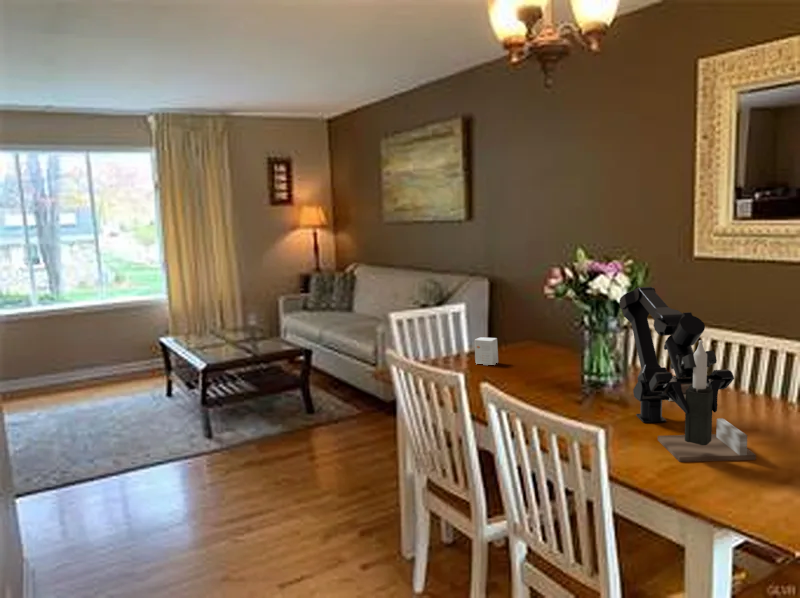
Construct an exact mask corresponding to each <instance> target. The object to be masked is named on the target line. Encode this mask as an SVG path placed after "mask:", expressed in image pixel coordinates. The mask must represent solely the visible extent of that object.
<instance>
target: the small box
mask: <svg viewBox="0 0 800 598" xmlns="http://www.w3.org/2000/svg"><path fill="white" fill-rule="evenodd" d="M474 360H475V363H476V364H475V365H477V364H483V365H482V366H488V365H494V366H495V365H497V364H498V363H499V351H498V338H497V337H483V336H482V337H481V336H480V337H478V338H475V339H474ZM496 363H497V364H496Z"/></svg>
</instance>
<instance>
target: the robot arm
mask: <svg viewBox="0 0 800 598" xmlns="http://www.w3.org/2000/svg"><path fill="white" fill-rule="evenodd" d="M618 302H619V304H618V305H619V308H620V309H621V311H622V315H623V317H624V318H625V319H626V320H627V321H628V322H629V323H630V325H631V328H632V333H633V336H634V342H635V347H636V350H637V351H636V352H637V356H638V360H639V364H640V371H639V373H638V375H637V382H636V384H635V386H634V387H633V390H632V392H633V397H634V399H636V400H637V401H638V402H640V413H636V414H635V416H636V417H637V418H638V419H639V420H640V421H641V422H642V423H644V424H646V423H666V422H667V419H666V418H665V417H663V415H662V414H663V401H667V400H669V398H671V399H672V400H673V401H672V402H674V403H675V405H677V406H678V407H679V408H680V409H681V411H683V412H684V414H685V413H686V414H688V413H689V409H688V405H687V403H686V399H685V397H684V395H683V392H682V388H681V385H684V384H693V367H696V364H695V361H694V353H695V351H694V349H693V347H692V346H694V345H695V344H696V343H697V341H699V339H700V337H701V336H702V334H703V333H704V331H705V329H706V326H705V323H704V321H703V320H702V319H700V318H699V317H697V316H694V315H693V312H691V311H690V312H689V311H688V312H681V311H679V310H678V309H674V308H671V307H669V306H668V305H667V303H666V302H665V301H664V300H663V299H662V298H661V297H660V296H659V295H658V294H657V292H656V288H655V287H653V286H641V287H640V286H637V287H636V288H634V290H632V291H628V292H626V293H624V294H623V295H622V296H621V297H620V298H619V301H618ZM649 315H650V316H651V317H652V319H653V320H654V321H653V324H652V325H653V327H654V331H655V332H656V333H657V334H658V335H659V336H662V337H663V336H664V337H665V336H668V337H667V338H666V340H665V342H664V346H663V349H664V350H667V353H668V356H669V359H670V363H671V364H670V369H671V370H673V371H674V374H675V375H673V373H672V372H670V371H668V370H667V368H666V367H662V366H661V365H660V364H659V362H658V358H657V354H656V350H655V345H654V344H655V343H654V341H653V340H654V339H653V337H652V333H651V328H650V324H649V320H648V317H649ZM705 352H706V353H707V368H710V367H711V365H714V364H717V356H716V354H715V351H714V350H705ZM734 380H735V376H734V373H733V372H732V371H731V370H730V369H727V368H726V369H713V370H712V372H711V374H710V375H707V381H706V386H708V387H710V389H712V390H713V405H712V413H717V411H718V396H719V395H718V394H719V390H725V389H727V388H728V387H729V386H730V385H731V384H732V382H733V381H734Z"/></svg>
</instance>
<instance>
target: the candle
mask: <svg viewBox="0 0 800 598" xmlns="http://www.w3.org/2000/svg"><path fill="white" fill-rule="evenodd" d="M703 343H704V341H703V340H702V339H700V340H698V345H697V348H696V350H695V351H694V361H695V364H696V367H693V385H690V386H689V388H688V389H687V390H686V399H685V400H686V403H687V405H688V409H689V413H688V414H686V413H685V412H684V415H685V416H684V418H685V419H684V423H685V424H684V435H685V441H686V442H691V443H695V444H700V445H707V444H708V443H709V442H711V437H712V434H713V432H712V431H713V430H712V429H713V428H712V427H713V410H712V405H713V390H712V389H710V387H708V386H706V381H707V376H708V373H707V372H708V367H707V353H706V350H705V349H704V344H703Z"/></svg>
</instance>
